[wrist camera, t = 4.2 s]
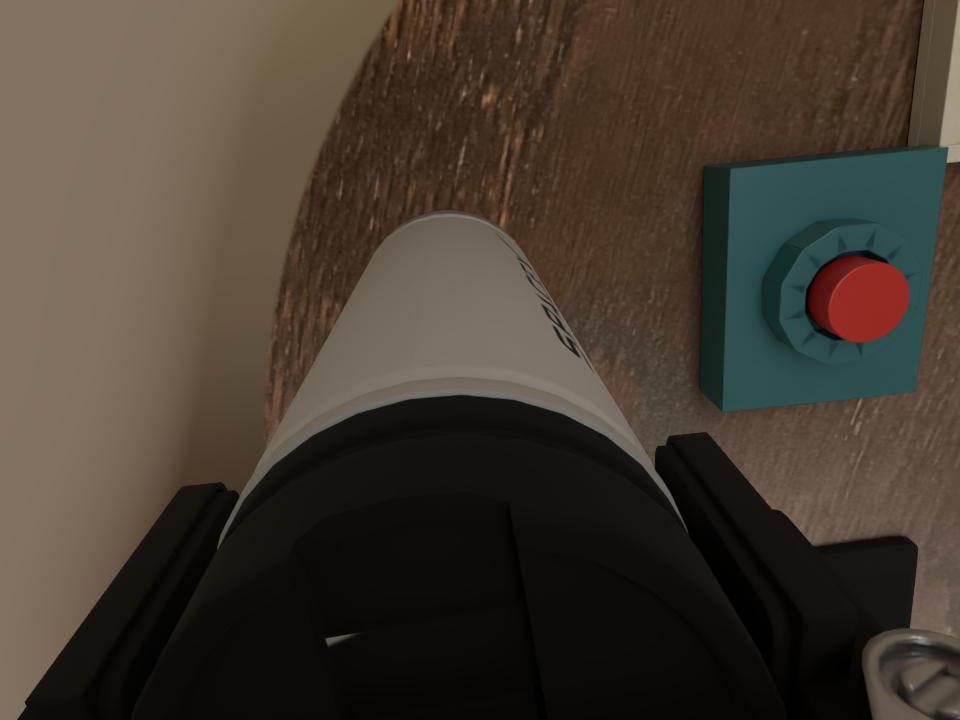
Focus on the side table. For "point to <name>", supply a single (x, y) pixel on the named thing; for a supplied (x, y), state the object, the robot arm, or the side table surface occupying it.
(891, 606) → the cell phone
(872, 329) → the button
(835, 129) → the side table surface
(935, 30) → the tray
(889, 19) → the side table surface
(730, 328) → the block
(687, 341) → the side table surface
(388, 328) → the travel mug
